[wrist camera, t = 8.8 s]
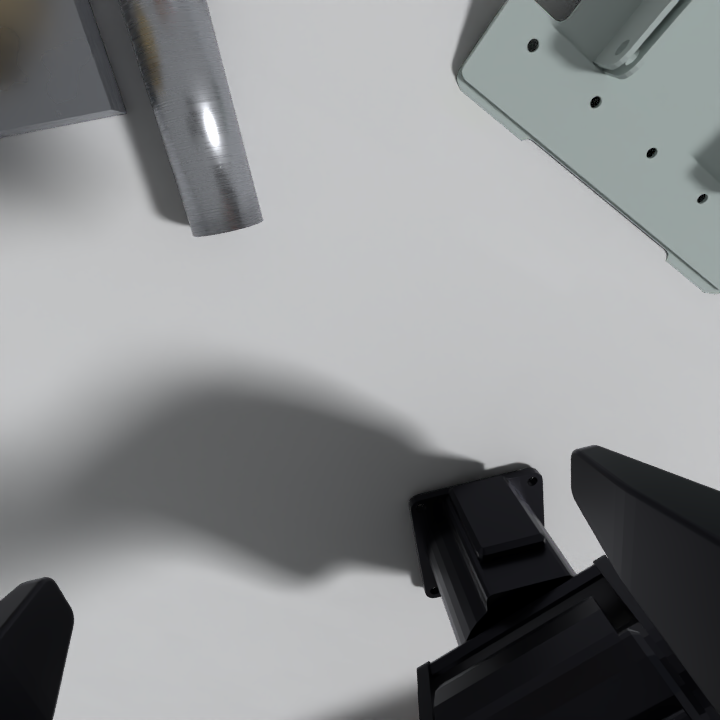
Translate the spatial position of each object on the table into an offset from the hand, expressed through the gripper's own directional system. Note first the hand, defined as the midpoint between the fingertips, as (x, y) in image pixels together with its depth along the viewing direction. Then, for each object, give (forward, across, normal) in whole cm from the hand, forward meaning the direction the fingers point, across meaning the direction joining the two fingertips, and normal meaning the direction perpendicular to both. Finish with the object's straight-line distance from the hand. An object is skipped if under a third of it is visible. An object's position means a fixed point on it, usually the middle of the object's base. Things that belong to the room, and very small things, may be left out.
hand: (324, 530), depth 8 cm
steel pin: (+12, +2, -8) cm, 15 cm away
